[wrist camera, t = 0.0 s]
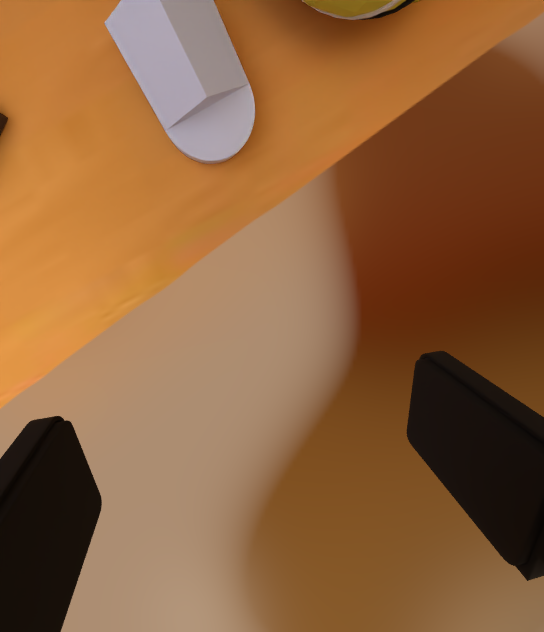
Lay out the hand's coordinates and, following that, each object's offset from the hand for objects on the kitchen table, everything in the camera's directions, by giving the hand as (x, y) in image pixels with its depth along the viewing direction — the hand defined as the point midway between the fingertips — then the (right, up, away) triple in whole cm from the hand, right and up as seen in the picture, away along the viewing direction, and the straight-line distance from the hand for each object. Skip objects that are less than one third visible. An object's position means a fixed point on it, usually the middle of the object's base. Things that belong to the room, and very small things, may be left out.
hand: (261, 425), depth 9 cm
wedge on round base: (-7, +25, +23) cm, 35 cm away
